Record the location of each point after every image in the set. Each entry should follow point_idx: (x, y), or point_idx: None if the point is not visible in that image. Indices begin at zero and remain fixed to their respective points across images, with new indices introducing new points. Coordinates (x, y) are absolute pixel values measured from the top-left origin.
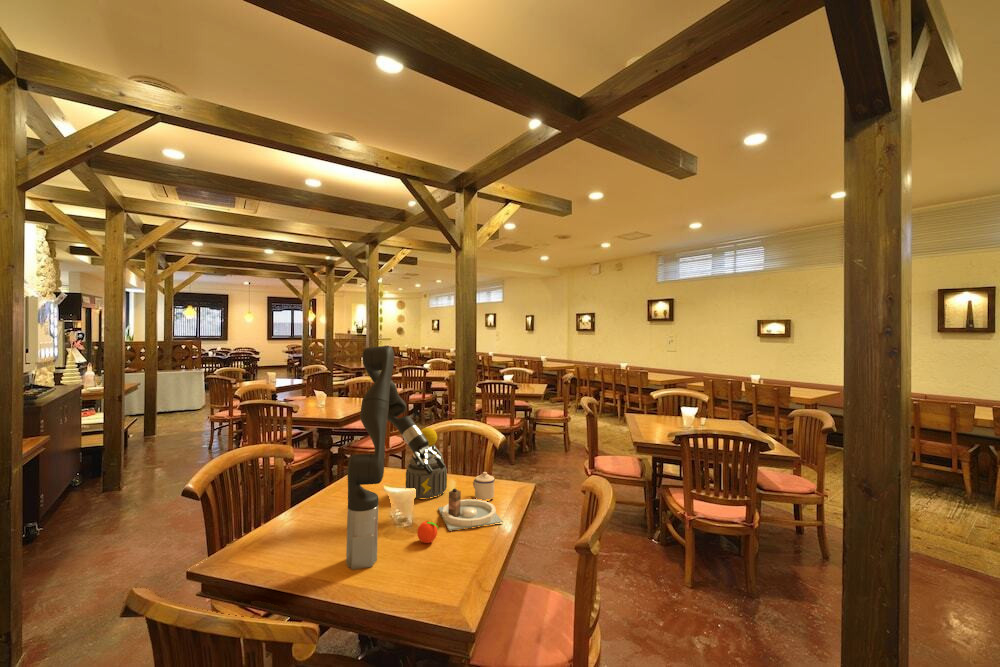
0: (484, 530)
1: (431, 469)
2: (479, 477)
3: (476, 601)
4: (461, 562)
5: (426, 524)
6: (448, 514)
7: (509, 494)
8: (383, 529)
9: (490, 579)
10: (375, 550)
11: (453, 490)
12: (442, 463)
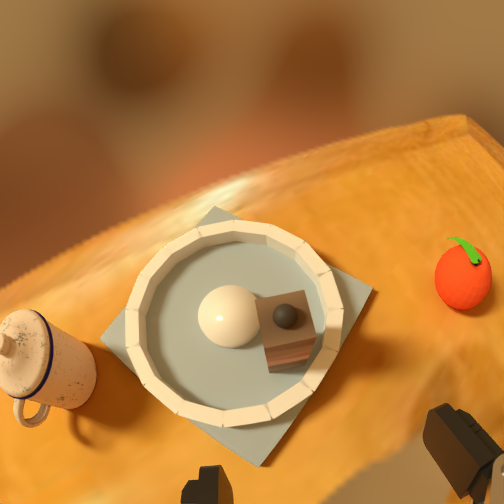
0: (284, 222)
1: (451, 416)
2: (25, 363)
3: (446, 123)
4: (425, 177)
5: (483, 254)
6: (327, 340)
7: None
8: None
9: (407, 127)
10: None
11: (296, 314)
12: (217, 493)
